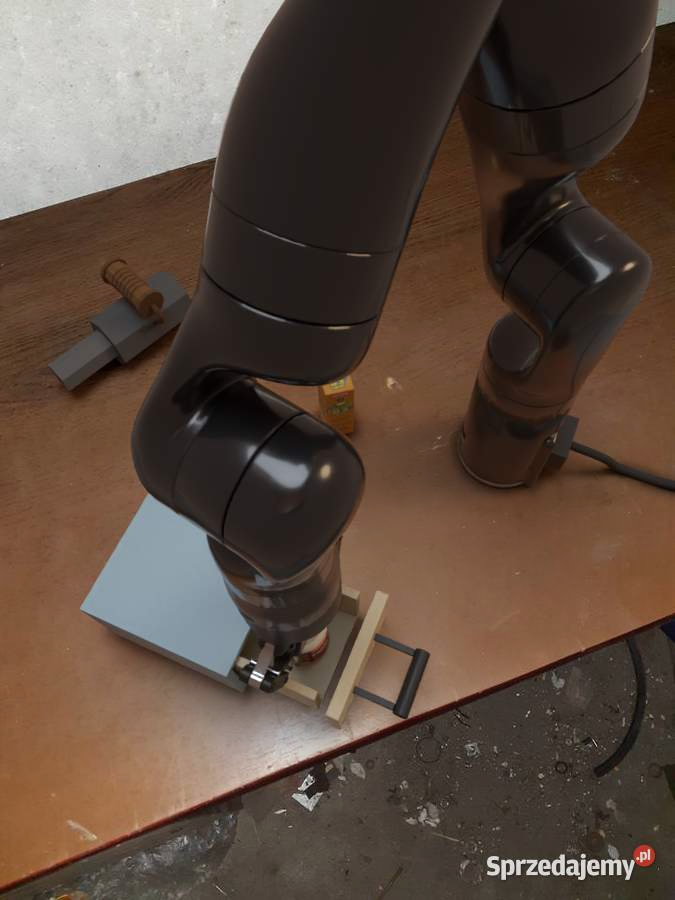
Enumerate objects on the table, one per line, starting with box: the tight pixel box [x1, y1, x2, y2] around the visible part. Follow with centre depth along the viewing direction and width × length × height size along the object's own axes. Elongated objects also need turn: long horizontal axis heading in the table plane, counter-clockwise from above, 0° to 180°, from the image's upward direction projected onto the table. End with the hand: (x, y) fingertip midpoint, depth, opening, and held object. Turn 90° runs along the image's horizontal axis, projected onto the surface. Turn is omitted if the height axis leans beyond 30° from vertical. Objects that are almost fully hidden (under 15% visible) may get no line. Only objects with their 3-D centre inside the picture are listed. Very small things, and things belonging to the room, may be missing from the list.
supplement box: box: [317, 374, 355, 435], centre depth 75 cm, size 3×3×10 cm
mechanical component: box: [47, 256, 191, 392], centre depth 80 cm, size 10×18×10 cm, turn 135°
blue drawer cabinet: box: [79, 492, 252, 694], centre depth 66 cm, size 15×13×10 cm
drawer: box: [232, 584, 431, 730], centre depth 63 cm, size 19×11×8 cm, turn 67°
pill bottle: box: [300, 626, 329, 665], centre depth 61 cm, size 5×5×8 cm
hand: (302, 629), depth 61 cm, fingers closed on pill bottle, 4 cm apart
